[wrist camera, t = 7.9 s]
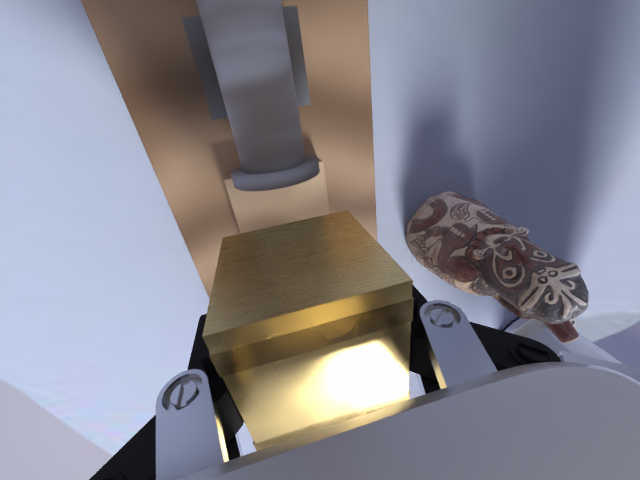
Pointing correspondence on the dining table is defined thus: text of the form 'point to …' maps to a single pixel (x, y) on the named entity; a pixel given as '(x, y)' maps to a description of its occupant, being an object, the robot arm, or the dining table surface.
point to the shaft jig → (246, 110)
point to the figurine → (496, 262)
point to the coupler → (309, 326)
